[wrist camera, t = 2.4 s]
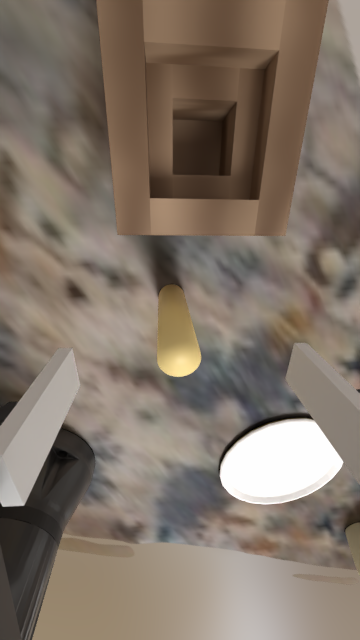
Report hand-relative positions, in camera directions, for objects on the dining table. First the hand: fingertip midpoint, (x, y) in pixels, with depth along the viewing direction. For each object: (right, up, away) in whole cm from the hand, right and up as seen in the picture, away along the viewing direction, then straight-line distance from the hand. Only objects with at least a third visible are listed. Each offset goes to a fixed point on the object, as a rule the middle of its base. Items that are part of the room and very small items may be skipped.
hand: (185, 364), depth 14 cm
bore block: (+1, +17, +6) cm, 18 cm away
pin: (-1, +5, +12) cm, 13 cm away
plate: (+16, -20, +26) cm, 37 cm away
